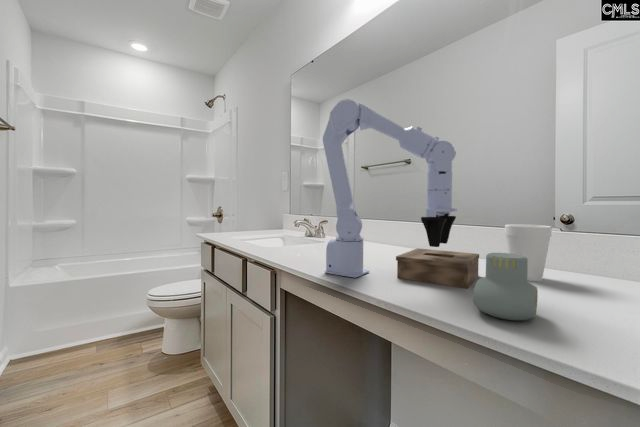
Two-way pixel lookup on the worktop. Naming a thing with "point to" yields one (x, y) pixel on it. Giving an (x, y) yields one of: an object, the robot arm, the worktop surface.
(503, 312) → the air freshener
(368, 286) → the worktop surface
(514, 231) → the foam cup
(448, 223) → the robot arm
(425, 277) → the money box
